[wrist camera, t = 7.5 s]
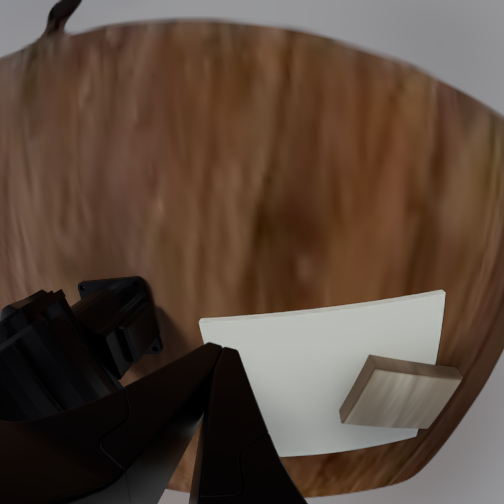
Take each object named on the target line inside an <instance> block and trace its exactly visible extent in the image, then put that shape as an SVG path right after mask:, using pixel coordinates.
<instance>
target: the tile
mask: <svg viewBox="0 0 504 504" xmlns="http://www.w3.org/2000/svg"><path fill="white" fill-rule="evenodd" d="M462 379H463V377H462V376H461V374H460V373H459V371H458V370H457V368H456V367H449V366H441V365H433V364H426V363H419V362H412V361H405V360H399V359H393V358H387V357H381V356H376V355H370V354H369V356H368V358H367V360H366V362H365V364H364V366H363V368H362V370H361V371H360V373H359V375H358V377H357V379H356V381H355V383H354V385H353V386H352V388H351V390H350V392H349V394H348V396H347V397H346V399H345V401H344V403H343V404H342V406H341V408H340V409H339V413H340V420H341V423H342V424H351V425H361V426H373V427H388V428H416V429H428V428H429V426H430V425H431V424H432V423H433V421H434V420H435V419H436V417H437V416H438V415H439V413H440V412H441V410H442V409H443V408H444V406H445V405H446V403H447V402H448V400H449V399H450V398H451V396H452V395H453V393H454V392H455V390H456V389H457V387H458V385H459V384H460V382H461V380H462Z"/></svg>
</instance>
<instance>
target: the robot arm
mask: <svg viewBox="0 0 504 504" xmlns="http://www.w3.org/2000/svg"><path fill="white" fill-rule="evenodd" d="M135 281H137V282H138V283H139V286H138V285H137V284H136V283H135ZM83 287H84V288H83ZM78 290H79V293H80V297H81V300H80V301H78V302H77V303H75V304H74V305H72V306H71V307H70V306H69V304H68V303H67V301H66V299H65V294H64V292H63V291H62V289H61V290H59V291H57V292H55V293H53V291H50V292H49V293H47V292H46V291H44V290H40V291H38V292H36V293H35V294H33V295H31V296H29V297H27V298H25V299H23V300H20V301H18V302H15V303H12V304H10V305H8V306H6V307H5V308H3V309H2V311H1V317H0V504H157V503H158V502H159V500H160V498H161V496H162V494H163V492H164V490H165V489H166V487H167V485H168V483H169V481H170V479H171V477H172V475H173V473H174V472H175V470H176V468H177V466H178V464H179V462H180V460H181V458H182V456H183V454H184V452H185V450H186V448H187V447H188V445H189V443H190V441H191V439H192V437H193V435H194V433H195V431H196V429H197V427H198V425H199V423H200V421H201V419H202V416H203V419H202V424H201V430H200V436H199V442H198V448H197V454H196V460H195V466H194V472H193V479H192V485H191V492H190V498H189V504H308V503H307V502H306V500H305V499H304V497H303V496H302V494H301V493H300V491H299V490H298V488H297V487H296V485H295V483H294V482H293V480H292V479H291V477H290V475H289V473H288V472H287V470H286V468H285V466H284V465H283V463H282V461H281V459H280V457H279V455H278V452H277V450H276V448H275V446H274V443H273V441H272V438H271V436H270V434H268V433H269V431H268V429H267V426H266V424H265V421H264V419H263V416H262V413H261V411H260V408H259V406H258V403H257V400H256V398H255V395H254V392H253V390H252V387H251V384H250V382H249V379H248V376H247V374H246V371H245V368H244V365H243V363H242V360H241V357H240V354H239V352H238V350H236V349H233V348H229V347H222V346H221V345H218V344H215V343H212V342H208V343H206V344H204V345H202V346H200V347H199V348H197V349H195V350H193V351H191V352H190V353H188V354H186V355H184V356H182V357H180V358H179V359H177V360H175V361H173V362H171V363H169V364H167V365H166V366H164V367H162V368H160V369H158V370H156V371H154V372H152V373H150V374H148V375H146V376H145V377H143V378H141V379H139V380H137V381H135V382H133V383H131V384H129V385H127V386H125V387H123V386H122V385H121V383H120V382H119V381H118V380H120V379H121V378H122V377H123V376H124V374H125V373H126V372H127V371H128V369H129V368H130V367H131V365H132V364H133V363H137V362H138V361H139V359H140V358H141V357H142V356H143V354H159V353H160V352H161V351H162V349H163V346H162V343H161V340H160V337H159V329H158V326H157V323H156V319H155V316H154V312H153V309H152V305H151V304H150V303H149V299H148V295H147V292H146V288H145V284H144V281H143V279H142V278H141V277H139V276H132V277H122V278H111V279H101V280H90V281H82V282H81V283H79V284H78ZM154 346H156V347H157V348H158V349H156V348H155V347H154ZM203 413H204V414H203Z"/></svg>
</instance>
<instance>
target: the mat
mask: <svg viewBox="0 0 504 504" xmlns="http://www.w3.org/2000/svg"><path fill="white" fill-rule="evenodd" d="M444 303H445V292H444V291H443V290H437V291H431V292H426V293H420V294H415V295H409V296H403V297H397V298H390V299H384V300H377V301H371V302H364V303H357V304H349V305H342V306H334V307H326V308H317V309H308V310H299V311H290V312H279V313H269V314H257V315H245V316H232V317H217V318H201V319H200V321H199V325H200V329H201V333H202V337H203V341H204V344H206V343H208V342H212V343H215V344H218V345H221V346H222V347H229V348H233V349H236V350H238V352H239V354H240V357H241V360H242V363H243V365H244V368H245V371H246V374H247V376H248V379H249V382H250V384H251V387H252V390H253V392H254V395H255V398H256V400H257V403H258V406H259V408H260V411H261V413H262V416H263V419H264V421H265V424H266V426H267V429H268V431H269V433H268V434H270V436H271V438H272V441H273V443H274V446H275V448H276V450H277V452H278V455H279V457H286V456H303V455H315V454H325V453H333V452H341V451H348V450H355V449H361V448H367V447H372V446H377V445H382V444H387V443H392V442H396V441H400V440H404V439H408V438H412V437H416V435H417V432H418V429H416V428H388V427H373V426H361V425H351V424H342V423H341V420H340V413H339V409H340V408H341V406H342V404H343V403H344V401H345V399H346V397H347V396H348V394H349V392H350V390H351V388H352V386H353V385H354V383H355V381H356V379H357V377H358V375H359V373H360V371H361V370H362V368H363V366H364V364H365V362H366V360H367V358H368V356H369V354H370V355H376V356H381V357H387V358H393V359H399V360H405V361H412V362H419V363H426V364H433V365H435V363H436V358H437V352H438V347H439V341H440V334H441V328H442V320H443V312H444Z"/></svg>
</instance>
